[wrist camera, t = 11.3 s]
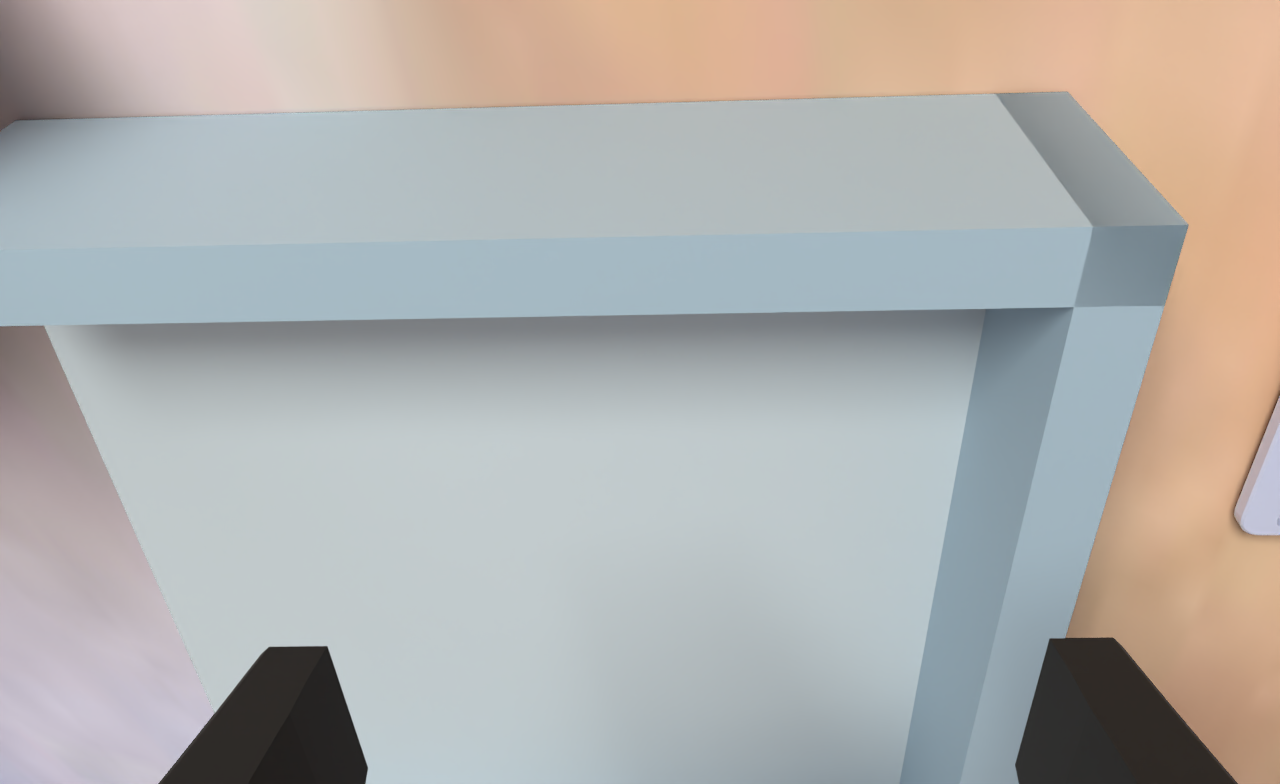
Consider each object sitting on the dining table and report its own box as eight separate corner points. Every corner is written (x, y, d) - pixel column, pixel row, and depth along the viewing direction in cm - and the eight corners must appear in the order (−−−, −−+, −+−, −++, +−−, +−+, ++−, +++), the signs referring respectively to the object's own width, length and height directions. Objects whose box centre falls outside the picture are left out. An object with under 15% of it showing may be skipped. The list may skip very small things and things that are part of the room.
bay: (1067, 91, 17) (1188, 224, 13) (925, 779, 28) (967, 965, 24) (16, 120, 18) (-177, 254, 14) (281, 777, 29) (217, 957, 25)
